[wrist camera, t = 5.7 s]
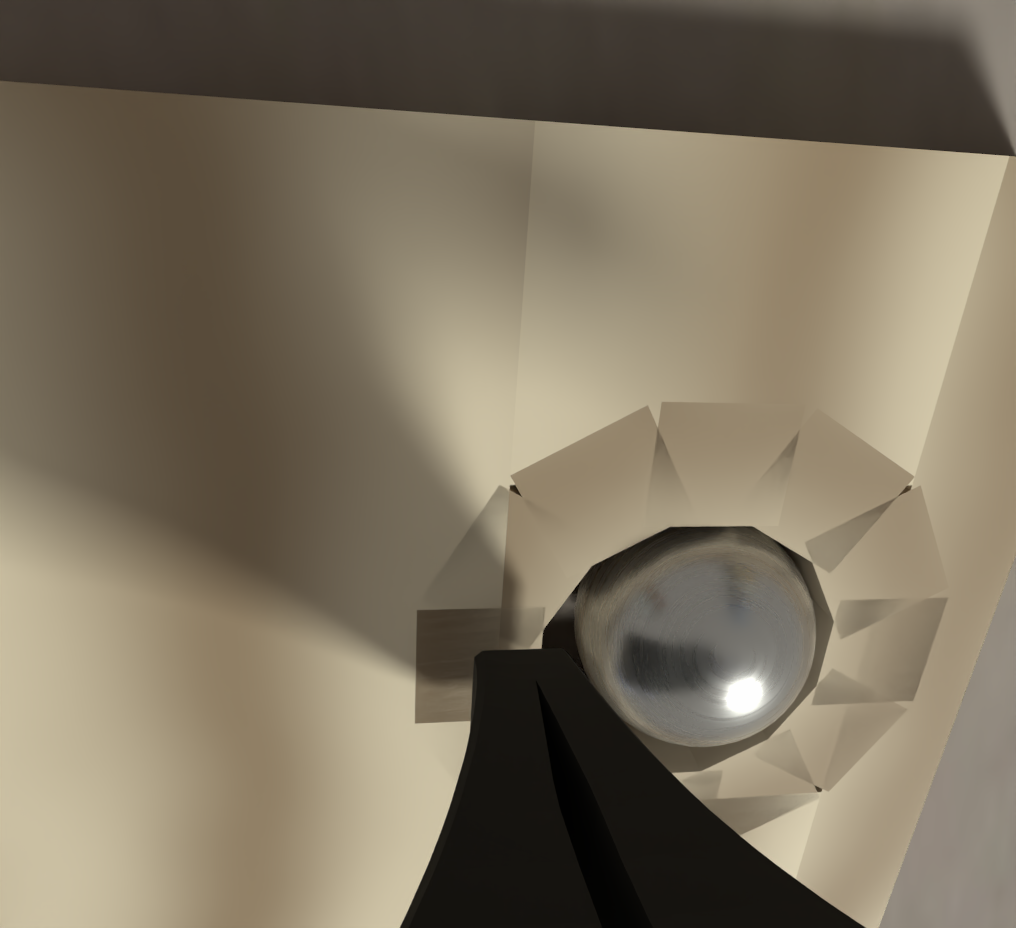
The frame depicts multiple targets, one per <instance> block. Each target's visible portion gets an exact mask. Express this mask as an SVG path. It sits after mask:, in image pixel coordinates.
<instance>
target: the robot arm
mask: <svg viewBox="0 0 1016 928" xmlns="http://www.w3.org/2000/svg"><path fill="white" fill-rule="evenodd" d="M400 928H866V927H864V926H863V925H861V924H860V923H858V922H856V921H855V920H854V919H852V918H851V917H849V916H848V915H846V914H845V913H843V912H842V911H840V910H839V909H837V908H836V907H834V906H833V905H831V904H830V903H828V902H827V901H825V900H824V899H823V898H821V897H820V896H818V895H817V894H816V893H814V892H813V891H811V890H810V889H809V888H807V887H806V886H805V885H803V884H802V883H801V882H799V881H798V880H796V879H795V878H794V877H792V876H791V875H790V874H788V873H787V872H786V871H784V870H783V869H781V868H780V867H779V866H777V865H776V864H775V863H773V862H772V861H771V860H770V859H768V858H767V857H766V856H764V855H763V854H762V853H761V852H759V851H758V850H757V849H756V848H754V847H753V846H752V845H751V844H749V843H748V842H747V841H746V840H745V839H743V838H742V837H741V836H740V835H739V834H737V833H736V832H735V831H734V830H733V829H732V828H730V827H729V826H728V825H727V824H726V823H725V822H723V821H722V820H721V819H720V818H719V817H717V816H716V815H715V814H714V813H713V812H712V811H710V810H709V809H708V808H707V807H706V806H705V805H704V804H703V803H702V802H701V801H700V800H699V799H698V798H696V797H695V796H694V795H693V794H692V793H691V792H690V791H689V790H688V789H687V788H686V787H685V786H684V785H683V784H682V783H681V782H680V781H679V780H678V779H677V778H676V777H675V776H674V775H673V774H672V773H671V772H670V771H669V770H668V769H667V768H666V767H665V766H664V765H663V764H662V763H661V762H660V761H659V760H658V759H657V758H656V757H655V756H654V754H653V753H652V752H651V751H650V750H649V749H648V748H647V747H646V746H645V745H644V744H643V742H642V741H641V740H640V739H639V738H638V737H637V736H636V735H635V734H634V733H633V731H632V730H631V729H630V728H629V727H628V726H627V725H626V724H625V723H624V721H623V720H622V719H621V718H620V717H619V716H618V714H617V713H616V712H615V711H614V710H613V709H612V707H611V706H610V705H609V704H608V703H607V701H606V700H605V699H604V698H603V697H602V695H601V694H600V693H599V692H598V691H597V689H596V688H595V687H594V686H593V684H592V683H591V682H590V681H589V679H588V678H587V677H586V676H585V674H584V673H583V672H582V671H581V669H580V668H579V667H578V666H577V664H576V663H575V662H574V660H573V659H572V658H571V657H570V655H569V654H568V653H567V652H566V651H565V650H564V649H563V648H548V649H517V650H486V651H481V652H480V653H479V654H477V655H476V656H475V657H474V667H473V685H472V704H471V722H470V734H469V739H468V744H467V748H466V753H465V757H464V760H463V764H462V767H461V771H460V774H459V777H458V781H457V784H456V788H455V791H454V794H453V798H452V801H451V804H450V807H449V810H448V813H447V816H446V819H445V822H444V824H443V827H442V830H441V833H440V835H439V838H438V841H437V843H436V846H435V848H434V851H433V853H432V856H431V858H430V861H429V863H428V866H427V868H426V871H425V873H424V875H423V877H422V880H421V882H420V884H419V886H418V889H417V891H416V893H415V896H414V898H413V900H412V902H411V905H410V907H409V909H408V911H407V913H406V916H405V918H404V920H403V922H402V924H401V926H400Z"/></svg>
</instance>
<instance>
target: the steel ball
mask: <svg viewBox="0 0 1016 928" xmlns="http://www.w3.org/2000/svg"><path fill="white" fill-rule="evenodd" d="M574 630H575V639H576V644H577V649H578V653H579V656H580V659H581V662H582V665H583V668H584V670H585V672H586V674H587V676H588V678H589V680H590V682H591V683H592V684H593V686H594V687H595V688H596V689H597V691H598V692H599V693H600V694H601V695H602V697H603V698H604V699H605V700H606V701H607V703H608V704H609V705H610V706H611V707H612V709H613V710H614V711H615V712H616V713H617V714H618V716H619V717H621V718H622V719H623V720H624V721H625V722H627V723H629V724H630V725H632V726H633V727H635V728H636V729H638V730H639V731H641V732H643V733H645V734H647V735H649V736H651V737H654V738H656V739H659V740H662V741H665V742H669V743H672V744H677V745H683V746H689V747H711V746H720V745H724V744H729V743H733V742H737V741H740V740H742V739H745V738H748V737H750V736H752V735H754V734H756V733H758V732H760V731H762V730H763V729H765V728H766V727H768V726H769V725H770V724H772V723H773V722H775V721H776V720H777V719H778V718H779V717H780V716H781V715H782V714H783V713H784V712H785V711H786V710H787V709H788V708H789V707H790V705H791V704H792V703H793V702H794V700H795V699H796V697H797V696H798V694H799V693H800V691H801V690H802V688H803V686H804V684H805V682H806V680H807V678H808V675H809V672H810V669H811V666H812V662H813V657H814V653H815V644H816V620H815V613H814V607H813V603H812V600H811V596H810V593H809V590H808V588H807V586H806V584H805V581H804V579H803V577H802V575H801V573H800V571H799V569H798V568H797V566H796V565H795V563H794V562H793V560H792V559H791V557H790V556H789V555H788V554H787V553H786V552H785V550H784V549H783V548H782V547H781V546H780V545H779V544H778V543H777V542H776V541H775V540H774V539H773V538H771V537H770V536H768V535H766V534H765V533H763V532H761V531H760V530H758V529H756V528H755V527H753V526H699V527H669V528H667V529H665V530H663V531H661V532H659V533H657V534H655V535H653V536H651V537H649V538H647V539H645V540H643V541H641V542H639V543H637V544H635V545H633V546H631V547H629V548H627V549H625V550H623V551H621V552H619V553H617V554H615V555H613V556H611V557H609V558H607V559H605V560H603V561H601V562H599V563H597V564H595V565H593V566H591V568H590V569H589V570H588V572H587V573H586V574H585V576H584V577H583V578H582V580H581V583H580V586H579V589H578V593H577V598H576V603H575V613H574Z"/></svg>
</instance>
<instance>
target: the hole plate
mask: <svg viewBox="0 0 1016 928" xmlns="http://www.w3.org/2000/svg"><path fill="white" fill-rule="evenodd" d="M699 526H753V527H755V528H756V529H758V530H760V531H761V532H763V533H765V534H766V535H768V536H770V537H771V538H773V539H774V540H775V541H776V542H777V543H778V544H779V545H780V546H781V547H782V548H783V549H784V550H785V552H786V553H787V554H788V555H789V556H790V557H791V559H792V560H793V562H794V563H795V565H796V566H797V568H798V569H799V571H800V573H801V575H802V577H803V579H804V581H805V584H806V586H807V588H808V590H809V593H810V596H811V600H812V603H813V607H814V613H815V620H816V644H815V653H814V657H813V662H812V666H811V669H810V672H809V675H808V678H807V680H806V682H805V684H804V686H803V688H802V690H801V691H800V693H799V694H798V696H797V697H796V699H795V700H794V702H793V703H792V704H791V705H790V707H789V708H788V709H787V710H786V711H785V712H784V713H783V714H782V715H781V716H780V717H779V718H778V719H777V720H776V721H775V722H773V723H772V724H770V725H769V726H768V727H766V728H765V729H763V730H762V731H760V732H758V733H756V734H754V735H752V736H750V737H748V738H745V739H742V740H740V741H737V742H733V743H729V744H724V745H720V746H711V747H689V746H683V745H677V744H672V743H669V742H665V741H662V740H659V739H656V738H654V737H651V736H649V735H647V734H645V733H643V732H641V731H639V730H638V729H636V728H635V727H633V726H632V725H630V724H629V723H627V722H625V721H624V720H623V719H622V718H621V717H620V718H621V719H622V720H623V721H624V723H625V724H626V725H627V726H628V727H629V728H630V729H631V730H632V731H633V733H634V734H635V735H636V736H637V737H638V738H639V739H640V740H641V741H642V742H643V744H644V745H645V746H646V747H647V748H648V749H649V750H650V751H651V752H652V753H653V754H654V756H655V757H656V758H657V759H658V760H659V761H660V762H661V763H662V764H663V765H664V766H665V767H666V768H667V769H668V770H669V771H670V772H671V773H672V774H673V775H674V776H675V777H676V778H677V779H678V780H679V781H680V782H681V783H682V784H683V785H684V786H685V787H686V788H687V789H688V790H689V791H690V792H691V793H692V794H693V795H694V796H695V797H696V798H698V799H699V800H700V801H701V802H702V803H703V804H704V805H705V806H706V807H707V808H708V809H709V810H710V811H712V812H713V813H714V814H715V815H716V816H717V817H719V818H720V819H721V820H722V821H723V822H725V823H726V824H727V825H728V826H729V827H730V828H732V829H733V830H734V831H735V832H736V833H737V834H739V835H740V836H741V837H742V838H743V839H745V840H746V841H747V842H748V843H749V844H751V845H752V846H753V847H754V848H756V849H757V850H758V851H759V852H761V853H762V854H763V855H764V856H766V857H767V858H768V859H770V860H771V861H772V862H773V863H775V864H776V865H777V866H779V867H780V868H781V869H783V870H784V871H786V872H787V873H788V874H790V875H791V876H792V877H794V878H795V879H796V880H798V881H799V882H801V883H802V884H803V885H805V886H806V887H807V888H809V889H810V890H811V891H813V892H814V893H816V894H817V895H818V896H820V897H821V898H823V899H824V900H825V901H827V902H828V903H830V904H831V905H833V906H834V907H836V908H837V909H839V910H840V911H842V912H843V913H845V914H846V915H848V916H849V917H851V918H852V919H854V920H855V921H856V922H858V923H860V924H861V925H863V926H864V927H866V928H879V925H880V922H881V920H882V917H883V914H884V912H885V909H886V906H887V903H888V901H889V898H890V895H891V893H892V890H893V887H894V884H895V882H896V879H897V876H898V874H899V871H900V868H901V865H902V863H903V860H904V857H905V855H906V852H907V849H908V846H909V844H910V841H911V838H912V836H913V833H914V830H915V827H916V825H917V822H918V819H919V817H920V814H921V811H922V808H923V806H924V803H925V800H926V798H927V795H928V792H929V789H930V787H931V784H932V781H933V779H934V776H935V773H936V770H937V768H938V765H939V762H940V759H941V757H942V754H943V751H944V749H945V746H946V743H947V740H948V738H949V735H950V732H951V730H952V727H953V724H954V721H955V719H956V716H957V713H958V711H959V708H960V705H961V702H962V700H963V697H964V694H965V692H966V689H967V686H968V683H969V681H970V678H971V675H972V673H973V670H974V667H975V664H976V662H977V659H978V656H979V654H980V651H981V648H982V645H983V643H984V640H985V637H986V635H987V632H988V629H989V626H990V624H991V621H992V618H993V616H994V613H995V610H996V607H997V605H998V602H999V599H1000V597H1001V594H1002V591H1003V588H1004V586H1005V583H1006V580H1007V578H1008V575H1009V572H1010V569H1011V567H1012V564H1013V561H1014V559H1015V556H1016V156H1002V155H989V154H975V153H962V152H949V151H935V150H922V149H908V148H895V147H881V146H868V145H855V144H841V143H828V142H814V141H801V140H788V139H774V138H761V137H747V136H734V135H721V134H707V133H694V132H680V131H667V130H653V129H640V128H627V127H613V126H600V125H586V124H573V123H560V122H546V121H533V120H519V119H506V118H493V117H479V116H466V115H452V114H439V113H425V112H412V111H399V110H385V109H372V108H358V107H345V106H332V105H318V104H305V103H291V102H278V101H264V100H251V99H238V98H224V97H211V96H197V95H184V94H171V93H157V92H144V91H130V90H117V89H104V88H90V87H77V86H63V85H50V84H36V83H23V82H10V81H0V928H400V926H401V924H402V922H403V920H404V918H405V916H406V913H407V911H408V909H409V907H410V905H411V902H412V900H413V898H414V896H415V893H416V891H417V889H418V886H419V884H420V882H421V880H422V877H423V875H424V873H425V871H426V868H427V866H428V863H429V861H430V858H431V856H432V853H433V851H434V848H435V846H436V843H437V841H438V838H439V835H440V833H441V830H442V827H443V824H444V822H445V819H446V816H447V813H448V810H449V807H450V804H451V801H452V798H453V794H454V791H455V788H456V784H457V781H458V777H459V774H460V771H461V767H462V764H463V760H464V757H465V753H466V748H467V744H468V739H469V734H470V722H471V704H472V685H473V667H474V657H475V656H476V655H477V654H479V653H480V652H481V651H486V650H517V649H541V648H542V637H543V630H544V628H545V627H546V626H547V624H548V623H549V622H550V620H551V619H552V618H553V616H554V615H555V614H556V612H557V611H558V610H559V609H560V607H561V606H562V605H563V603H564V602H565V601H566V599H567V598H568V597H569V595H570V594H571V593H572V591H573V590H574V589H575V587H576V586H577V585H578V584H579V582H580V581H581V580H582V578H583V577H584V576H585V574H586V573H587V572H588V570H589V569H590V568H591V566H593V565H595V564H597V563H599V562H601V561H603V560H605V559H607V558H609V557H611V556H613V555H615V554H617V553H619V552H621V551H623V550H625V549H627V548H629V547H631V546H633V545H635V544H637V543H639V542H641V541H643V540H645V539H647V538H649V537H651V536H653V535H655V534H657V533H659V532H661V531H663V530H665V529H667V528H669V527H699Z"/></svg>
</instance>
